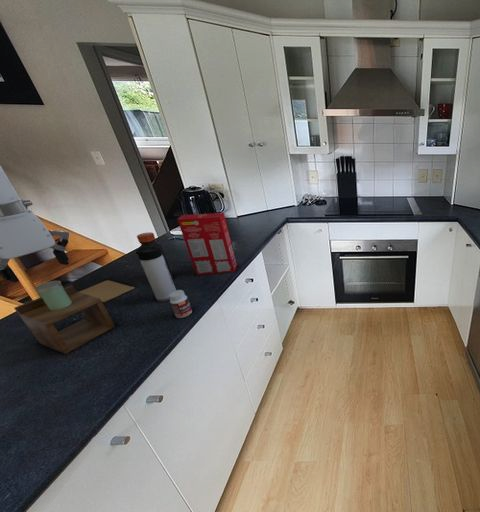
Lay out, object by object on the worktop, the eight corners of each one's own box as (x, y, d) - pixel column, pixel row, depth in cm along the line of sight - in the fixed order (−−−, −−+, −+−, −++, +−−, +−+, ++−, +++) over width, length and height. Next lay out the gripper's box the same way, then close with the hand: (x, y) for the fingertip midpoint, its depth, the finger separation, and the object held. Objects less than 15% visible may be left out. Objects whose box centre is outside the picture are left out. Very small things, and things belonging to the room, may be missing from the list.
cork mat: (76, 294, 101) (75, 293, 101) (107, 280, 110) (107, 280, 110) (104, 302, 97) (103, 301, 97) (135, 288, 105) (134, 287, 105)
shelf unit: (40, 343, 79) (13, 307, 73) (91, 318, 89) (71, 285, 83) (65, 354, 76) (40, 317, 70) (115, 326, 86) (97, 292, 80)
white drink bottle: (154, 278, 112) (136, 233, 103) (174, 274, 115) (158, 230, 106) (151, 286, 107) (131, 239, 98) (172, 282, 110) (154, 236, 101)
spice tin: (44, 308, 76) (30, 287, 73) (66, 299, 80) (54, 279, 77) (54, 312, 75) (41, 290, 72) (76, 302, 79) (64, 282, 76)
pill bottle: (184, 319, 90) (176, 298, 86) (172, 317, 90) (163, 296, 87) (195, 310, 94) (188, 289, 90) (183, 308, 95) (175, 288, 91)
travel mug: (151, 300, 98) (129, 251, 90) (168, 290, 104) (149, 243, 95) (165, 303, 97) (144, 253, 88) (181, 293, 103) (163, 245, 94)
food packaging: (237, 266, 122) (223, 212, 111) (234, 272, 118) (220, 216, 107) (200, 269, 119) (183, 214, 108) (196, 275, 115) (177, 219, 103)
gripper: (41, 199, 73) (73, 256, 81) (-70, 219, 59) (-18, 286, 66) (58, 202, 71) (89, 260, 79) (-52, 223, 57) (-1, 291, 64)
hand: (40, 272), depth 73 cm, fingers open, 9 cm apart
